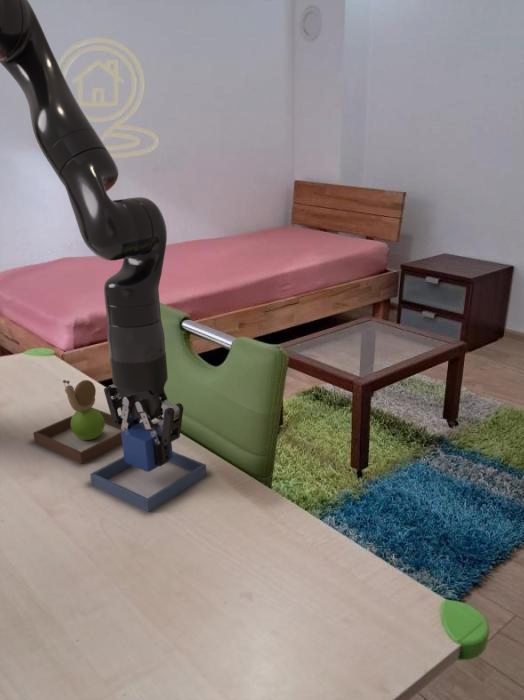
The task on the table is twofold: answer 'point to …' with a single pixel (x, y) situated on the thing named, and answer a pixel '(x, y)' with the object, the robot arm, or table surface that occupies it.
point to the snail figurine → (84, 410)
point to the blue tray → (158, 498)
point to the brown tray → (81, 457)
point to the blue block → (140, 447)
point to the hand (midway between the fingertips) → (148, 457)
